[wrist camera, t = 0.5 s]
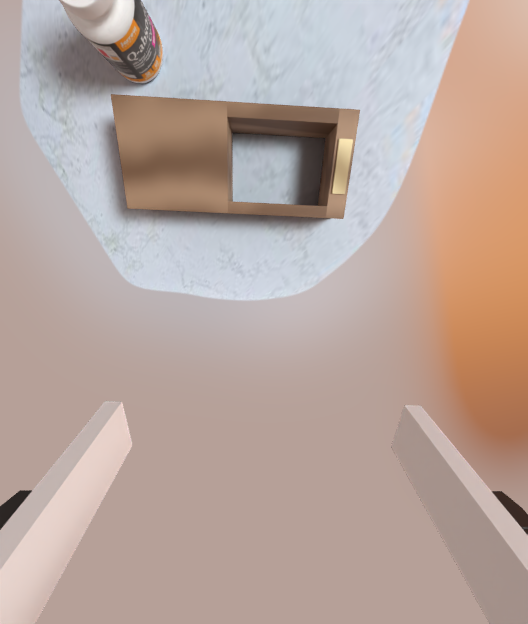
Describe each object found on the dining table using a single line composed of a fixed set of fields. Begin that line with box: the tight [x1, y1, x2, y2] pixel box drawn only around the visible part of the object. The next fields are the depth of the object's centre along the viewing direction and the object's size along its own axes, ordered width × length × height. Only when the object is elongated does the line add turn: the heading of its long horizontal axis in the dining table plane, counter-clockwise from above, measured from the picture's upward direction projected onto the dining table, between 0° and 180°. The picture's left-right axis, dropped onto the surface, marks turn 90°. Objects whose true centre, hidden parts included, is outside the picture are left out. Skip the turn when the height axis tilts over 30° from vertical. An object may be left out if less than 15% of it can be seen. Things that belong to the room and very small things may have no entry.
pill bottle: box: [59, 0, 163, 83], centre depth 21 cm, size 6×6×10 cm
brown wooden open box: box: [111, 94, 360, 219], centre depth 28 cm, size 10×24×5 cm, turn 87°
